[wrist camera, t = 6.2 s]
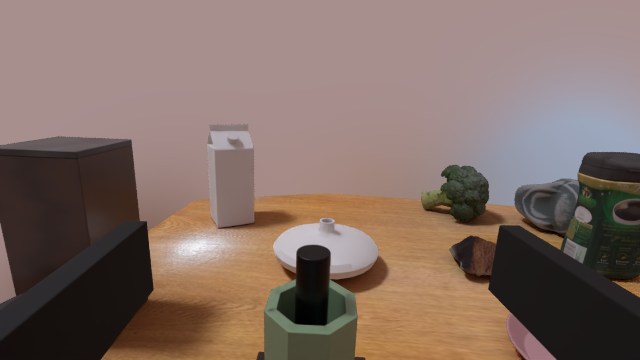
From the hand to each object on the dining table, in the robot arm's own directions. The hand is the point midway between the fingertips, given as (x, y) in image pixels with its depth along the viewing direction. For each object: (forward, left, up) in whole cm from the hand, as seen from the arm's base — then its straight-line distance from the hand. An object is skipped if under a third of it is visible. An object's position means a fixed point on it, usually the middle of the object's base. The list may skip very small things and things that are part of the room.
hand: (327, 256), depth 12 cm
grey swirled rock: (+49, +52, -19) cm, 74 cm away
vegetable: (+28, +60, -19) cm, 69 cm away
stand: (-25, +20, -19) cm, 37 cm away
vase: (0, +35, -19) cm, 40 cm away
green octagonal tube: (-1, +10, -18) cm, 20 cm away
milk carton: (-19, +51, -19) cm, 57 cm away
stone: (+27, +35, -19) cm, 48 cm away
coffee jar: (+43, +38, -19) cm, 60 cm away
